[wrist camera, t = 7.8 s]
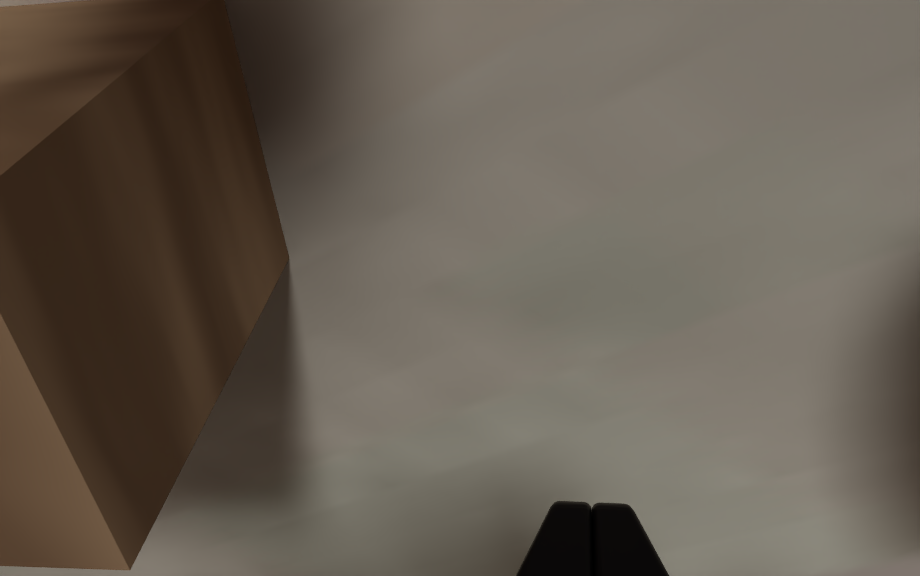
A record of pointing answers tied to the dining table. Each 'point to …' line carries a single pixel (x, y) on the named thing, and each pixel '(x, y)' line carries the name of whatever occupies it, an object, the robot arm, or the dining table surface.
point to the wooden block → (119, 263)
